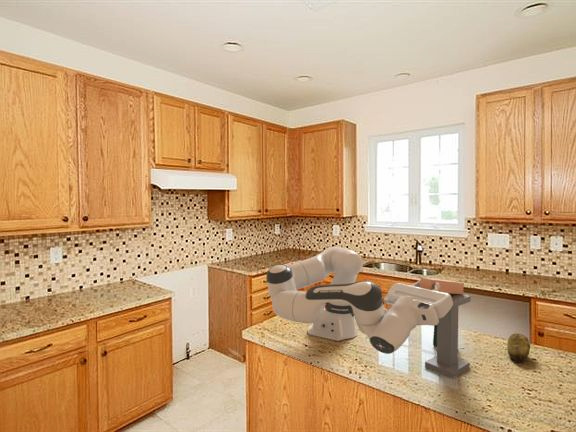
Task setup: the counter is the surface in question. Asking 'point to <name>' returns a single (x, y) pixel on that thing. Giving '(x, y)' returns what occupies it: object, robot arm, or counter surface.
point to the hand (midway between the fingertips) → (429, 282)
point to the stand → (449, 342)
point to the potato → (518, 347)
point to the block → (442, 285)
